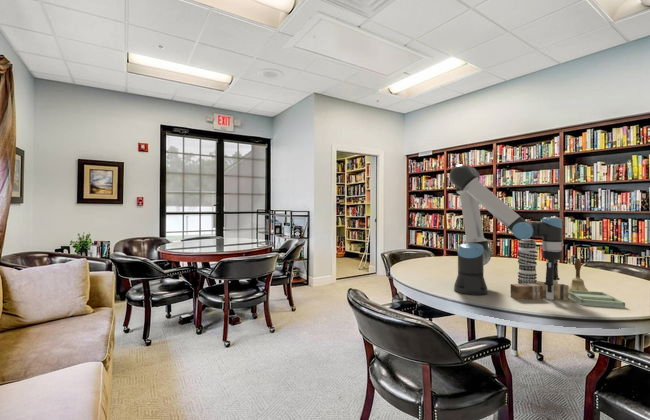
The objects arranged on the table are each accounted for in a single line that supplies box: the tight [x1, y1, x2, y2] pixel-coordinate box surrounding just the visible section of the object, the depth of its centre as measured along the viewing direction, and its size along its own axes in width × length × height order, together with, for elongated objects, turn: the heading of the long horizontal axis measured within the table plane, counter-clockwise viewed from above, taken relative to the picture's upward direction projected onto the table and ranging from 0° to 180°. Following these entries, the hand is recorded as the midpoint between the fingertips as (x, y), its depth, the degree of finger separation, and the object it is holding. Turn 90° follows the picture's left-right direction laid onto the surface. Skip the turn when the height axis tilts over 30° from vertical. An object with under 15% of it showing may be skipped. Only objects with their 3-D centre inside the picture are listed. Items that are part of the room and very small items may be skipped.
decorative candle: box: [516, 238, 539, 284], centre depth 167 cm, size 9×9×25 cm
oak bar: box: [536, 280, 570, 301], centre depth 148 cm, size 12×5×6 cm, turn 47°
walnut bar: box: [510, 283, 543, 301], centre depth 146 cm, size 12×5×6 cm, turn 92°
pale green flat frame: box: [568, 290, 626, 309], centre depth 141 cm, size 15×17×2 cm
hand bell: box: [569, 258, 589, 291], centre depth 160 cm, size 8×8×16 cm
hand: (552, 296), depth 148 cm, fingers open, 12 cm apart
